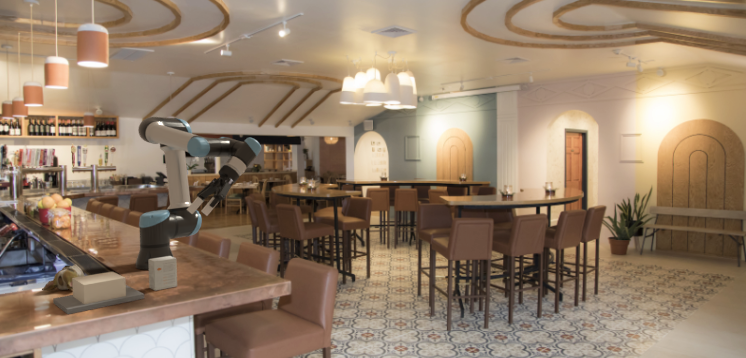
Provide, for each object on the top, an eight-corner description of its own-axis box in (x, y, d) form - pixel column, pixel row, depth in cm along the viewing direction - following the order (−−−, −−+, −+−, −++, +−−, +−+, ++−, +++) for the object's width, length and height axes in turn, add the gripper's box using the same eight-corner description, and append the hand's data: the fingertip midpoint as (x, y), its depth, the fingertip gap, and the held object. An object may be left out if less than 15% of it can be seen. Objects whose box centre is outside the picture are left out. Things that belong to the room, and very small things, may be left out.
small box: (171, 283, 175) (170, 255, 175) (177, 286, 171) (176, 257, 171) (148, 287, 170) (148, 258, 169) (154, 291, 166) (153, 261, 165)
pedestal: (53, 303, 152) (52, 279, 152) (126, 289, 168) (125, 268, 168) (67, 314, 141) (67, 289, 141) (144, 298, 157) (143, 276, 157)
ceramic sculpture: (91, 259, 176) (72, 271, 162) (92, 281, 177) (74, 295, 162) (59, 260, 174) (38, 272, 160) (61, 283, 175) (40, 297, 161)
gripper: (254, 176, 179) (218, 220, 169) (224, 177, 198) (191, 217, 188) (240, 163, 175) (202, 207, 166) (211, 165, 194) (176, 205, 184)
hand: (196, 212), depth 177 cm, fingers open, 13 cm apart
